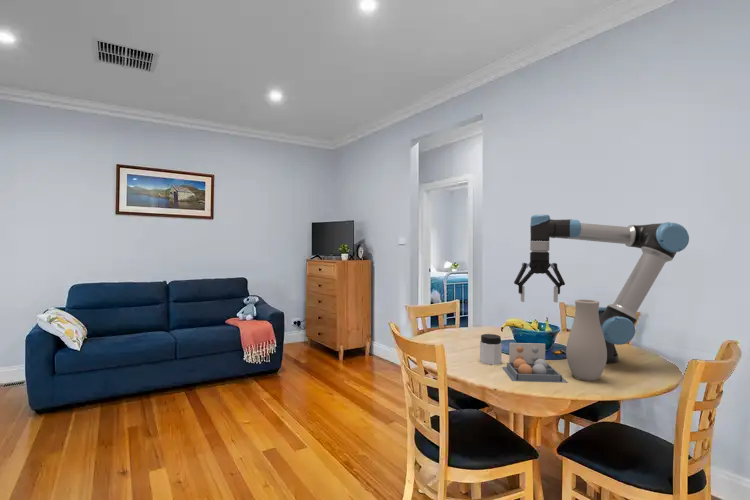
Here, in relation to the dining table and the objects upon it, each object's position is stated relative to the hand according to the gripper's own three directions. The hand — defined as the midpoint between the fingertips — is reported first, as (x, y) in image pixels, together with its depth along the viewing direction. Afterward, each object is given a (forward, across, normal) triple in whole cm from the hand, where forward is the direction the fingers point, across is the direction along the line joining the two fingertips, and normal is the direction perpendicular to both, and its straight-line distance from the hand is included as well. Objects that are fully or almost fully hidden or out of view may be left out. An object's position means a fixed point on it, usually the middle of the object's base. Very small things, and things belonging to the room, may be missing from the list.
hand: (539, 301), depth 175 cm
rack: (+27, +7, +16) cm, 32 cm away
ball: (+26, +11, +20) cm, 34 cm away
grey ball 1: (+26, +3, +13) cm, 29 cm away
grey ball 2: (+24, +4, +20) cm, 32 cm away
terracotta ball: (+26, +11, +13) cm, 31 cm away
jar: (+27, +20, +1) cm, 34 cm away
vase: (+27, -12, +18) cm, 35 cm away
